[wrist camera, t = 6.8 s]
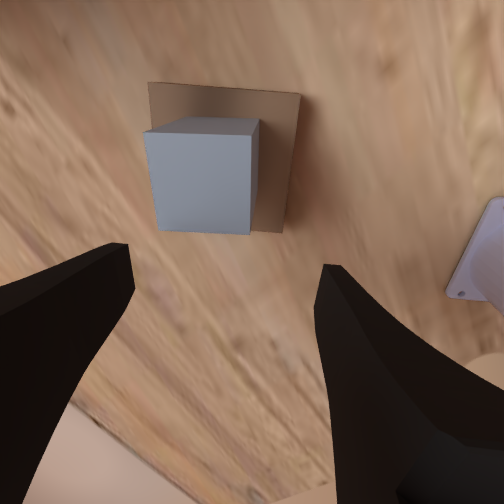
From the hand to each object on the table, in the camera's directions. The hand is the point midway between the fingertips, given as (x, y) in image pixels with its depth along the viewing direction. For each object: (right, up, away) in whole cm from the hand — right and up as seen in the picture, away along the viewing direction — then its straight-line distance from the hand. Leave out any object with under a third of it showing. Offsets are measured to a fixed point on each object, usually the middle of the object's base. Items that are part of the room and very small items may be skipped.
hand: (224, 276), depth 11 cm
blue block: (-1, +7, +6) cm, 9 cm away
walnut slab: (-1, +7, +8) cm, 11 cm away
